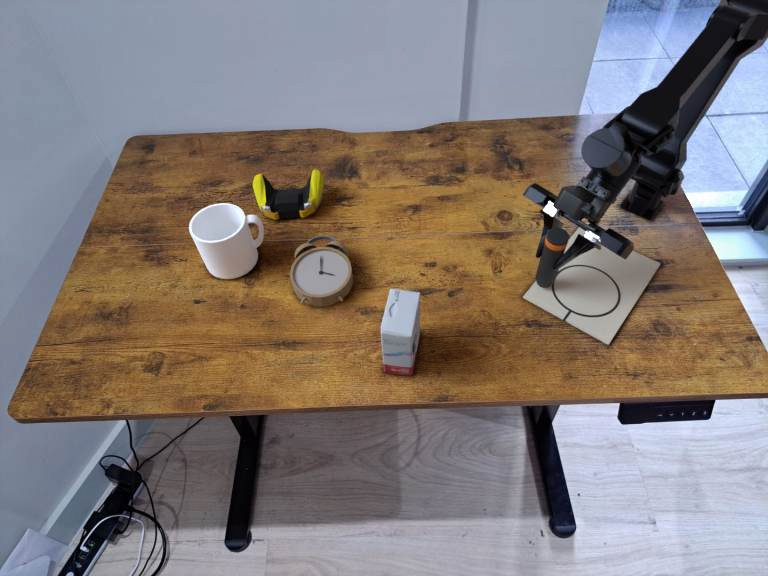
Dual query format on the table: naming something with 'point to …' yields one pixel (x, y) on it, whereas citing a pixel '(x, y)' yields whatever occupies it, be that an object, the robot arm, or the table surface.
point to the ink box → (400, 331)
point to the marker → (551, 256)
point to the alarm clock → (321, 272)
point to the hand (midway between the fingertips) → (545, 263)
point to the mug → (226, 239)
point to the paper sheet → (595, 290)
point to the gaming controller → (289, 197)
